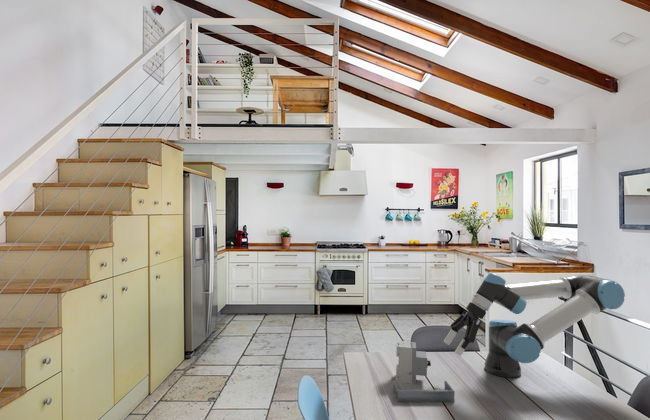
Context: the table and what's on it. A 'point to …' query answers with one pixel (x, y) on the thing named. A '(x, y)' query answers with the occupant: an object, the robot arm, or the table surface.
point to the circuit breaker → (410, 362)
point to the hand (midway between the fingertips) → (451, 348)
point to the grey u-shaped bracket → (424, 394)
